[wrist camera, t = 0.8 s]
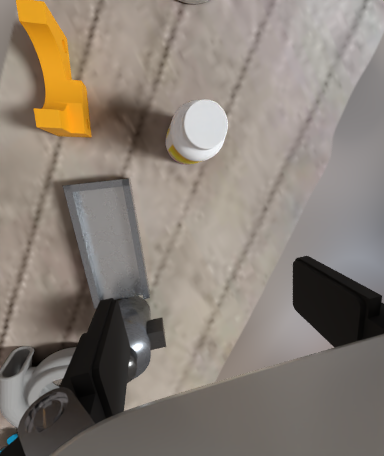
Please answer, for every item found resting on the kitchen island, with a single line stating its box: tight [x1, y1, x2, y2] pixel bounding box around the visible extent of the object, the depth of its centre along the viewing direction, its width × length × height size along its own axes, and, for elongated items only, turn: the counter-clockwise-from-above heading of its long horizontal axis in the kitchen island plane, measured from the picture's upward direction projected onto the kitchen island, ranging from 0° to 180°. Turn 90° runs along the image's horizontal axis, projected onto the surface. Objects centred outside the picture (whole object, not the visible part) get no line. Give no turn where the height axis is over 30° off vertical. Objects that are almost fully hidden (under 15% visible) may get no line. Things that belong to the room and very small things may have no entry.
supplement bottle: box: [166, 99, 228, 165], centre depth 28 cm, size 7×7×13 cm
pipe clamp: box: [16, 0, 91, 137], centre depth 26 cm, size 12×4×6 cm, turn 0°
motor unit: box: [63, 178, 166, 383], centre depth 31 cm, size 28×11×12 cm, turn 6°
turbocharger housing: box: [0, 346, 76, 428], centre depth 37 cm, size 17×6×15 cm
